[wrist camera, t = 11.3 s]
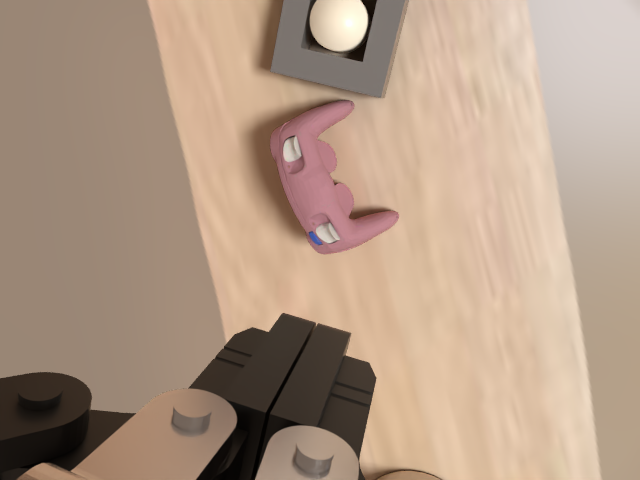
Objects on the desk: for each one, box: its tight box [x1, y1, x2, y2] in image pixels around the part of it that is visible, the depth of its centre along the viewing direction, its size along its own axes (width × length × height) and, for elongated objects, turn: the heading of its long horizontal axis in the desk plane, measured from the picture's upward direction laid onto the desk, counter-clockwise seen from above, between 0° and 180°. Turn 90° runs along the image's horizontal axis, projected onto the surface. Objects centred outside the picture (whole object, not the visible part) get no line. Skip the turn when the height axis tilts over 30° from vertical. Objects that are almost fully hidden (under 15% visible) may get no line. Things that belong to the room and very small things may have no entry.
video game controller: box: [270, 100, 399, 254], centre depth 37 cm, size 10×5×7 cm
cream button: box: [310, 0, 371, 53], centre depth 36 cm, size 4×4×2 cm
